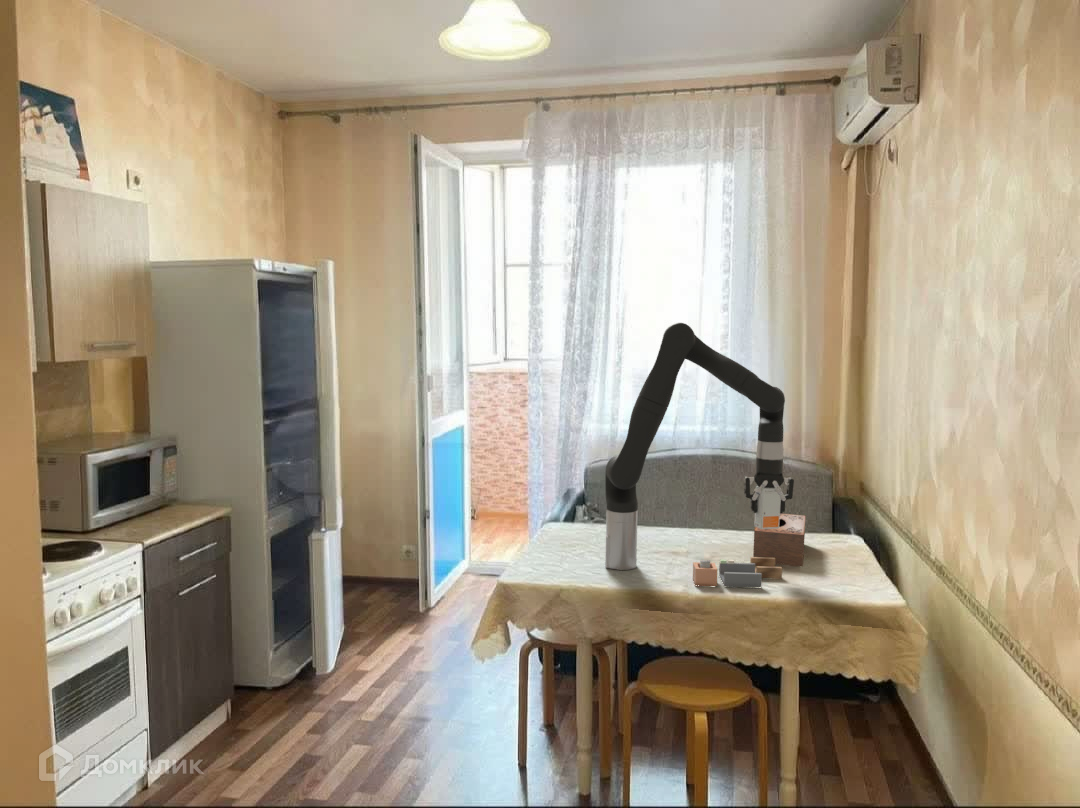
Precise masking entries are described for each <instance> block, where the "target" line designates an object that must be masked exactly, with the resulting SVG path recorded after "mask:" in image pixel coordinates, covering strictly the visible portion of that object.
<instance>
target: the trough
mask: <svg viewBox="0 0 1080 808" xmlns="http://www.w3.org/2000/svg"><path fill="white" fill-rule="evenodd" d="M749 563H755V573H761V574H762V579H763V578H772V579H771V580H782V579H783V568H782V566H776V564H775V558H770V557H753V556H751V557H750V562H749Z"/></svg>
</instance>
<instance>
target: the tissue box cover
mask: <svg viewBox="0 0 1080 808" xmlns="http://www.w3.org/2000/svg"><path fill="white" fill-rule="evenodd" d="M753 531H754V532H753V554H752V555H753V556H752V557H770V558H775V565H782V564H783V565H785V566H792V567H793V566H794V567H802V568H803V566H804V565H803V564H804V554H805V553H804V552H805V537H806V535H805V533H806V515H803V514H789V513H782V514H780V522H779V529H760V528H758V527H756V526H754V530H753Z"/></svg>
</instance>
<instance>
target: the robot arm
mask: <svg viewBox="0 0 1080 808" xmlns="http://www.w3.org/2000/svg"><path fill="white" fill-rule="evenodd" d="M685 360H687V361H689V362H691V363H693V364H695V365H697V366H699V367H701V368H702V369H703V370H705V371H706V372H707V373H710V374H711V375H712V376H714V377H715V378H716V379H718V380H719V381H721V382H722V383H723V384H725V385H726V386H728V387H729V388H731V389H732V390H734V391H735V392H737V393H739V394H741V396H744V397H745V398H746V399H748V400H750V401H751V402H752V403H753V404H754V405H755V406H757V407H759V423H758V428H757V429H758V431H757V445H756V452H755V455H756V456H755V457H756V458H755V460H756V461H755V474H754V476H745V475H744V477H743V489H744V490H743V491H744V492H743V493H744V496H745V497H746V498H747V499H749V500H750V510H751V511H752V513H753V514H755V513H756V508H757V500H756V499H757V497H758V496H759V495H760V494H761V488H775V489H776V490H777V492H778V494H779V495H780V498H781V504H780V514H784V512H785V511H786V501H788V500H792V499H793V496H794V495H793V493H794V483H795V480H794V478H792V477H790V476H789V477H784V475H783V473H784V453H785V452H784V450H785V449H784V423H783V422H784V413H785V411H784V410H785V402H786V397H785V393H784V392H783V391H782V389H781V388H779V387H777V386H772V385H771V384H769V383H767V382H766V381H764V380H763V379H761V378H760V377H759V376H758V375H757V374H755V372H753V371H751V370H750V369H748V368H747V367H745V366H743V365H742V364H740V363H738V362H737V361H735V360H733V359H731V358H729V357H728V356H726V355H724V354H722V353H720V352H718V351H717V350H715V349H713V348H712V347H710V346H709V345H707V344H706V343H705V342H703V341H702V340H701V338H700V337H698V336H697V335H696V334H695V331H694V330H693V329H692V327H691V326H690V325H688V324H687V323H684V322H676V323H675V322H674V323H673V324H671V325H669V326H668V327H667V328H666V329H665V331H664V333H663V335H662V341H661V343H660V348H659V350H658V353H657V356H656V359H655V362H654V365H653V367H652V368H651V370H650V372H649V374H648V375H647V377H646V379H645V381H644V383H643V384H642V387H641V389H640V390H639V391H640V392H639V393H638V395H637V398H636V400H635V403H634V406H633V408H632V411H631V415H630V418H629V419H630V420H629V424H628V430H627V436H626V439H625V441H624V443H623V446H622V448H621V450H620V452H619V454H616V455H614V456H612V457H611V458H609V460H608V461H607V464H606V466H605V477H604V478H605V479H604V481H605V486H604V488H605V491H604V492H605V502H606V503H605V504H606V515H605V516H606V519H605V522H606V525H605V530H606V531H605V560H604V561H605V568H606V569H611V570H619V571H620V570H621V571H627V570H634V569H636V567H637V560H638V559H637V557H638V556H637V555H638V553H637V552H638V548H637V547H638V511H639V508H638V507H639V503H638V496H637V483H638V482H639V481H640V479H641V475H642V472H643V469H644V465H645V461H646V458H647V455H648V452H649V449H650V447H651V445H652V443H653V441H654V439H655V437H656V435H657V433H658V430H659V429H660V426H661V424H662V422H663V419H664V418H665V416H666V415H665V414H666V413H667V410H668V408H669V405H670V402H671V400H672V397H673V393H674V391H675V385H676V381H677V378H678V374H679V372H680V370H681V367H682V365H683V364H684V362H685ZM753 483H755V485H756V486H758V487H759V488H758V489H756V487H755V488H754V490H753V492H752V493H751V485H753ZM783 483H785V485H786V493H785V494H784V493H783V491H782V488H781V485H783ZM780 488H781V489H780Z"/></svg>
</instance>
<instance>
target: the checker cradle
mask: <svg viewBox="0 0 1080 808" xmlns="http://www.w3.org/2000/svg"><path fill="white" fill-rule="evenodd" d="M718 568H719V569H718V577H719V576H720V577H719V579H720V578H721V579H720V580H722V581H721V583H722V582H723V583H722V584H724V585H723V587H724V586H729V587H728V588H735V587H761V588H762V581H763V580H762V579H763V578H762V574H761V573H755V563H750V562H735V560H734V559H720V560H719V566H718Z"/></svg>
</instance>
